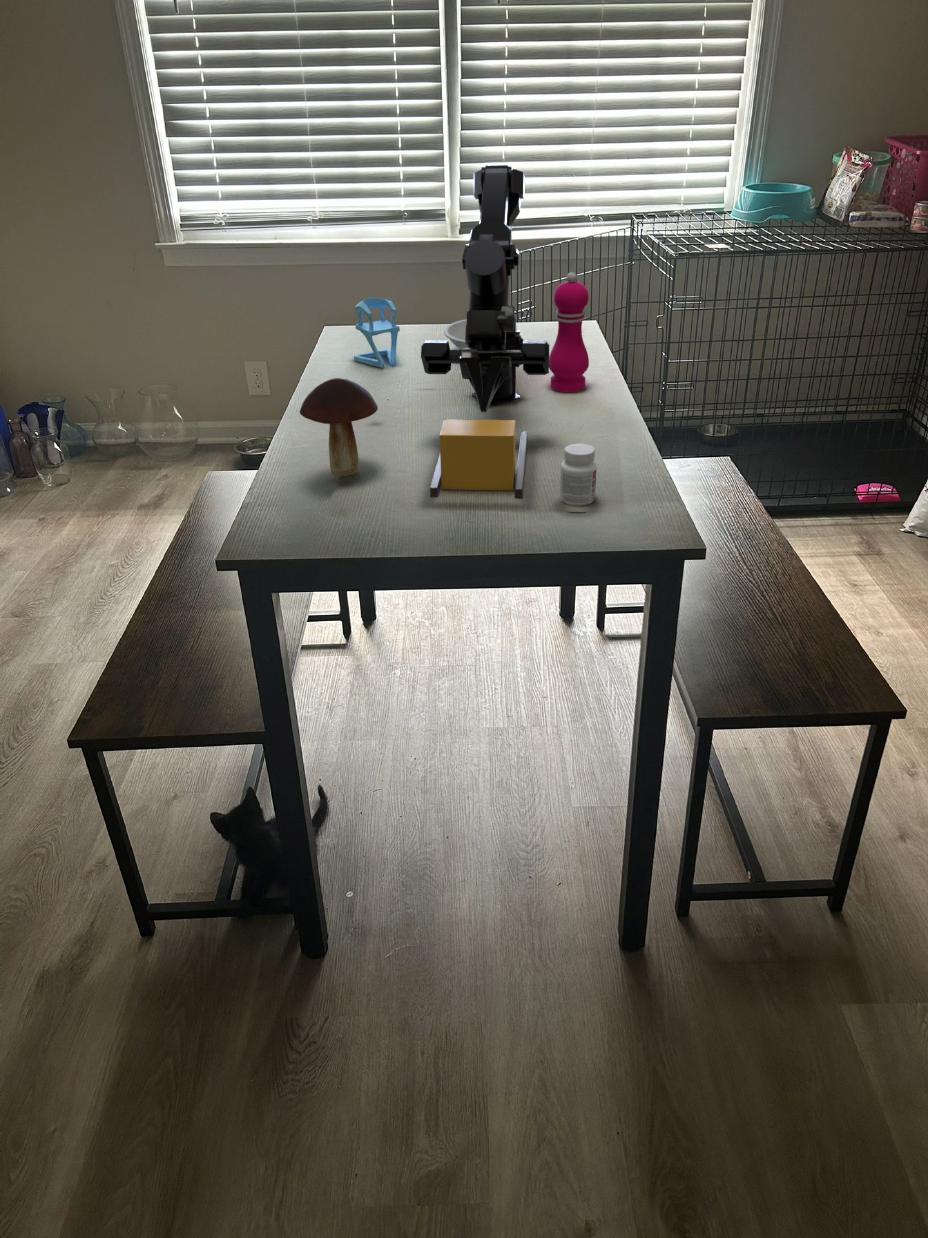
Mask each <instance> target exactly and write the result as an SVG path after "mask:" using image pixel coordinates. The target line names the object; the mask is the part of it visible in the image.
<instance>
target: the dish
mask: <svg viewBox="0 0 928 1238" xmlns="http://www.w3.org/2000/svg"><path fill="white" fill-rule="evenodd" d="M466 323H467V318H466V319H461V320H457V321H455V322H452V323H450V324H448V325H447V326H446V327H445V328H444V330H443V334H444V336H445V337H446V338H447V339H449V340H450V342H451V343H452V344H453V345H454V346H455V347H456V348H458V350H461V348H467V345H466V344H465V331H466ZM516 331H518V330H517V328H516Z"/></svg>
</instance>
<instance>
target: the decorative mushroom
mask: <svg viewBox="0 0 928 1238" xmlns="http://www.w3.org/2000/svg"><path fill="white" fill-rule="evenodd" d="M378 409H379V406H378V403H377V402H376V399H374V397H373V396H372V395H371V393H370V392H369V390H367V389H366V388H365V387H363V386H361V384H359V383H357V382H355V381H352V380H349V379H347V378H341V377H333V378H330V379H328V380H325V381H323V382H321V383H319V385H317V386H316V387H314V388H313V390H311V391H310V392H309V393H308V394H307V396H306V397H305V398H304V400H303V401H302V404H301V407H300V409H299V414H300V416H301V417H303V418H305V419H307V420H310V421H313V422H316V423H320V424H325V425H329V431H328V456H329V457H328V459H329V468H330V472H331V474H332V476H333V477H334V478H336V480H337V479H338V480H341V478H342V477H348V476H352V475H355V474H357V473H358V472H359V471H360V460H359V451H358V445H357V440H356V435H355V431H354V427H353V426H354V425H353V422H356V421H360V420H364V419H367V418H369V417H371V416H373V415H375V414H376V413H377V411H378Z"/></svg>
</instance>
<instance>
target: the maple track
mask: <svg viewBox="0 0 928 1238" xmlns="http://www.w3.org/2000/svg"><path fill="white" fill-rule="evenodd" d="M528 434H529V432H528V431H521V432H520V440H519V447H518V458H517V467H516V474H515V483H514V499H523V493H524V483H525V471H526V461H527V449H528V438H529V437H528ZM441 487H442V486H441V460H440V454H439V456H438V460H437V462H436V466H435V469H434V472H433V476H432V480H431V483H430V486H429V496H430V498H438V496H439V493H440V489H441Z"/></svg>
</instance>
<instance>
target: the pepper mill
mask: <svg viewBox="0 0 928 1238" xmlns="http://www.w3.org/2000/svg"><path fill="white" fill-rule="evenodd" d="M577 280H578V275H577V274H576V272H574V271H571V272H568V274H566V281H563V282H561V283H560V284H559V285H558V286H557V287H556V288H555V290H554V292H553V303H554V306H555V307H556V308H557V310H556V311H555V314H556V316H555V319H556V321H557V325H558V328H557V335H556V337H555V338H556V339H555V340H554V341H555V342H554V344H553V346H552V347H551V350H550V352H549V371H550V372H551V373H552V375H551V377H550V388H551V389H552V390H553V391H556V392H560V393H576V392H580V391H583V390H584V389H585V388H586V376H585V375H584V374H585V373H586V372H587V370H588V369H589V366H590V358H589V353H588V350H587V347H586V345H585V342H584V338H583V330H582V328H583V327H582V326H583V321H584V320H585V318H586V316H585V314H586V311H585V310H584V309H585V307H586V306H587V305H588V303H589V291H588V289H587V287H586V285H584V284H583V283H581V282H579V281H577Z"/></svg>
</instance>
